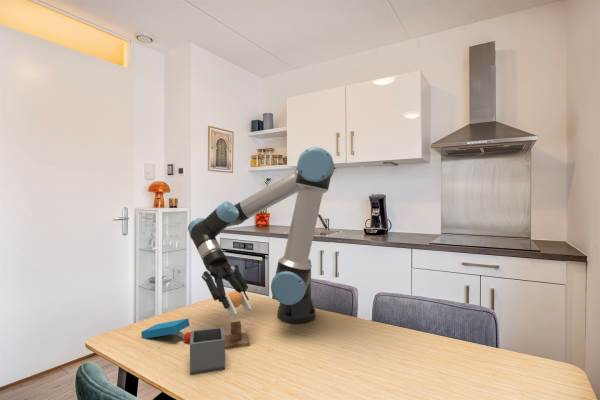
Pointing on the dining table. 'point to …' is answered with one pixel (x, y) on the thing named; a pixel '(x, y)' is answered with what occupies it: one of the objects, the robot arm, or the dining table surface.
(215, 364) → the square storage bin
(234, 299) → the ball
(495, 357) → the dining table surface
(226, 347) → the tee
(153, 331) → the lever
